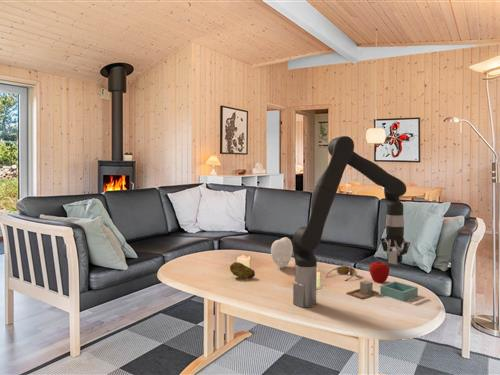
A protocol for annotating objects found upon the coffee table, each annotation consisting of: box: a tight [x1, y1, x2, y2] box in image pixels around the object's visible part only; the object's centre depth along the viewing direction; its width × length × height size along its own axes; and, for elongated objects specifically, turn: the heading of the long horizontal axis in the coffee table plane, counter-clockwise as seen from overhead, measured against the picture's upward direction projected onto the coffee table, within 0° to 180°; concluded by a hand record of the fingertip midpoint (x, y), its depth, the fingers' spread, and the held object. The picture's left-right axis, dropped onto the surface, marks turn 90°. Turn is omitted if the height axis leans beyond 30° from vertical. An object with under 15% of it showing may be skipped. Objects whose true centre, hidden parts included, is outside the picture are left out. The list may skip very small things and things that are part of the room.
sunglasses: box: [325, 265, 358, 282], centre depth 207 cm, size 14×15×5 cm
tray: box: [345, 288, 380, 300], centre depth 180 cm, size 13×9×1 cm
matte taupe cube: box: [387, 250, 401, 265], centre depth 176 cm, size 4×4×5 cm
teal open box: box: [379, 280, 419, 302], centre depth 178 cm, size 12×12×4 cm
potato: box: [229, 261, 256, 280], centre depth 206 cm, size 8×13×8 cm, turn 59°
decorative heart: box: [270, 236, 294, 271], centre depth 225 cm, size 18×11×17 cm, turn 149°
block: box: [359, 280, 373, 295], centre depth 181 cm, size 4×4×5 cm
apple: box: [369, 261, 390, 284], centre depth 199 cm, size 10×10×11 cm
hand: (394, 261), depth 176 cm, fingers closed on matte taupe cube, 4 cm apart
